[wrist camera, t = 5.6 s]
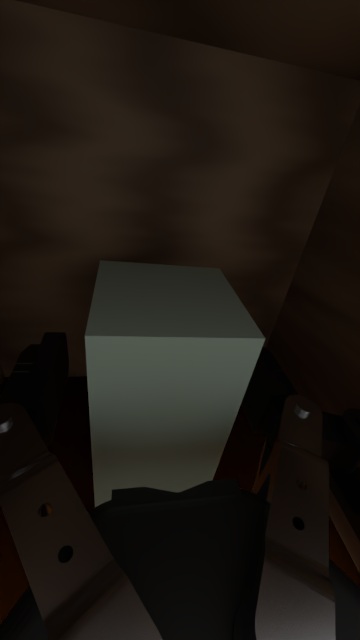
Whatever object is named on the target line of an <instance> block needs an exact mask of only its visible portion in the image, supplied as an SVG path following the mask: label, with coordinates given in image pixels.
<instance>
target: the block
mask: <svg viewBox="0 0 360 640" xmlns="http://www.w3.org/2000/svg"><path fill="white" fill-rule="evenodd" d="M264 341H265V337H264V336H263V334H262V333H261V331H260V329H259V328H258V326H257V325H256V323H255V322H254V320H253V319H252V317H251V316H250V314H249V313H248V311H247V310H246V308H245V307H244V305H243V304H242V302H241V301H240V299H239V297H238V296H237V294H236V293H235V291H234V290H233V288H232V287H231V285H230V284H229V282H228V281H227V279H226V278H225V276H224V275H223V273H222V272H221V270H220V269H219V268H207V267H192V266H177V265H162V264H148V263H133V262H118V261H103V260H100V263H99V268H98V273H97V278H96V283H95V288H94V293H93V298H92V303H91V308H90V312H89V317H88V322H87V327H86V332H85V348H86V365H87V382H88V399H89V416H90V433H91V449H92V466H93V483H94V500H95V507H97V506H99V505H100V504H102V503H104V502H107V501H109V500H111V496H112V490H113V489H124V488H135V487H149V488H155V489H160V490H166V491H171V492H182V491H184V490H187V489H189V488H192V487H194V486H197V485H199V484H202V483H204V482H207V481H212V480H213V477H214V475H215V472H216V469H217V467H218V464H219V461H220V459H221V456H222V453H223V451H224V448H225V445H226V443H227V440H228V437H229V435H230V432H231V429H232V427H233V424H234V421H235V419H236V416H237V413H238V411H239V408H240V405H241V403H242V400H243V397H244V395H245V392H246V389H247V386H248V384H249V381H250V378H251V376H252V373H253V370H254V368H255V365H256V362H257V360H258V357H259V354H260V352H261V349H262V346H263V344H264Z"/></svg>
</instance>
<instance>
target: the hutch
mask: <svg viewBox="0 0 360 640" xmlns="http://www.w3.org/2000/svg"><path fill="white" fill-rule="evenodd" d="M100 260H103V261H118V262H133V263H148V264H162V265H177V266H192V267H207V268H219V269H220V270H221V272H222V273H223V275H224V276H225V278H226V279H227V281H228V282H229V284H230V285H231V287H232V288H233V290H234V291H235V293H236V294H237V296H238V297H239V299H240V301H241V302H242V304H243V305H244V307H245V308H246V310H247V311H248V313H249V314H250V316H251V317H252V319H253V320H254V322H255V323H256V325H257V326H258V328H259V329H260V331H261V333H262V334H263V336H264V337H265V341H264V344H263V346H262V347H265V348H266V349H267V350H268V351H270V352H271V353H272V354H273V355H274V357H275V358H276V360H277V361H278V364H279V365H280V366H281V368H282V371H284V372H285V374H286V376H287V377H288V379H289V380H290V382H291V383H292V385H293V386H294V388H295V390H296V391H297V393H298V394H299V395H301V396H304V397H307V398H309V399H310V400H312V401H313V402H314V403H316V404H317V406H318V407H319V408H320V410H321V411H323V412H327V413H331V414H335V415H339V416H342V414H343V413H344V411H345V410H346V409H349V408H356V409H360V0H0V387H1V385H2V382H3V380H4V378H5V377H10V375H11V373H12V371H13V369H14V366H15V365H16V362H17V360H18V358H19V356H20V354H21V352H22V351H24V350H25V349H26V348H27V347H28V346H29V345H30V344H41V341H42V339H43V336H44V334H45V332H65V333H66V337H67V347H68V356H69V372H68V377H74V376H87V365H86V348H85V332H86V327H87V322H88V317H89V312H90V308H91V303H92V298H93V293H94V288H95V283H96V278H97V273H98V268H99V263H100ZM358 467H359V468H360V465H359V466H358ZM329 516H330V518H331V520H332V522H333V523H334V525H335V527H336V529H337V531H338V533H339V535H340V537H341V539H342V541H343V543H344V545H345V547H346V548H347V550H348V552H349V554H350V556H351V558H352V560H353V562H354V564H355V566H356V568H357V570H358V571H359V573H360V541H359V540H358V538H357V536H356V534H355V532H354V531H353V529H352V527H351V525H350V524H349V522H348V520H347V518H346V516H345V515H344V513H343V511H342V509H341V507H340V506H339V504H338V502H337V500H336V499H335V497H334V495H333V493H332V491H331V490H330V488H329Z"/></svg>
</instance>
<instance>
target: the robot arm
mask: <svg viewBox="0 0 360 640" xmlns="http://www.w3.org/2000/svg"><path fill="white" fill-rule="evenodd" d="M68 372H69V356H68V347H67V337H66V333H65V332H45V334H44V336H43V339H42V341H41V344H30V345H29V346H28V347H27V348H26V349H25V350H24V351H22V352H21V354H20V356H19V358H18V360H17V362H16V365H15V366H14V369H13V371H12V373H11V375H10V377H9V379H8V381H7V383H6V385H5V388H4V390H3V392H2V394H1V396H0V505H1V508H2V511H3V513H4V516H5V519H6V522H7V524H8V527H9V530H10V532H11V535H12V538H13V541H14V543H15V546H16V549H17V551H18V554H19V557H20V560H21V562H22V565H23V568H24V570H25V573H26V576H27V579H28V581H29V584H30V585H29V587H28V588H27V589H26V591H25V592H24V593H23V595H22V596H21V597H20V599H19V600H18V601H17V603H16V604H15V605H14V607H13V608H12V609H11V611H10V612H9V614H8V615H7V616H6V618H5V619H4V620H3V622H2V623H1V624H0V640H360V587H359V586H358V585H357V584H356V583H354V582H353V581H352V580H351V579H350V578H349V577H348V576H347V575H346V574H345V573H344V572H343V571H342V570H341V569H340V568H339V567H337V566H336V565H335V564H334V563H333V562H332V561H331V560H330V559H329V488H330V490H331V491H332V493H333V495H334V497H335V499H336V500H337V502H338V504H339V506H340V507H341V509H342V511H343V513H344V515H345V516H346V518H347V520H348V522H349V524H350V525H351V527H352V529H353V531H354V532H355V534H356V536H357V538H358V540H359V541H360V468H359V467H358V466H359V465H360V409H356V408H349V409H346V410H345V411H344V413H343V414H342V416H339V415H335V414H331V413H327V412H323V411H321V410H320V408H319V407H318V406H317V404H316V403H314V402H313V401H312V400H310V399H309V398H307V397H304V396H301V395H299V394H298V393H297V391H296V390H295V388H294V386H293V385H292V383H291V382H290V380H289V379H288V377H287V376H286V374H285V372H284V371H282V368H281V366H280V365H279V364H278V361H277V360H276V358H275V357H274V355H273V354H272V353H271V352H270V351H268V350H267V349H266V348H265V347H262V349H261V352H260V354H259V357H258V360H257V362H256V365H255V368H254V370H253V373H252V376H251V378H250V381H249V384H248V386H247V389H246V392H245V395H244V397H243V400H242V403H241V404H242V406H243V409H244V411H245V414H246V416H247V419H248V421H249V423H250V426H251V428H252V431H253V433H254V434H264V435H265V437H266V440H265V442H264V445H263V449H262V453H261V457H260V462H259V466H258V470H257V475H256V479H255V483H254V486H253V489H252V491H251V492H250V491H247V490H244V489H241V488H240V487H239V484H238V481H237V478H234V479H223V480H212V481H207V482H204V483H202V484H199V485H197V486H194V487H192V488H189V489H187V490H184V491H182V492H171V491H166V490H160V489H155V488H149V487H135V488H124V489H113V490H112V496H111V500H109V501H107V502H104V503H102V504H100V505H99V506H97V507H95V508H94V509H92V510H91V511H89V512H87V510H86V508H85V506H84V505H83V503H82V501H81V499H80V498H79V496H78V494H77V492H76V491H75V489H74V487H73V485H72V483H71V482H70V480H69V478H68V476H67V475H66V473H65V471H64V469H63V467H62V466H61V464H60V462H59V460H58V459H57V457H56V456H55V454H53V453H50V452H49V451H48V449H47V447H46V445H51V444H52V440H53V436H54V432H55V427H56V423H57V419H58V415H59V411H60V407H61V402H62V398H63V394H64V390H65V386H66V381H67V377H68Z"/></svg>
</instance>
